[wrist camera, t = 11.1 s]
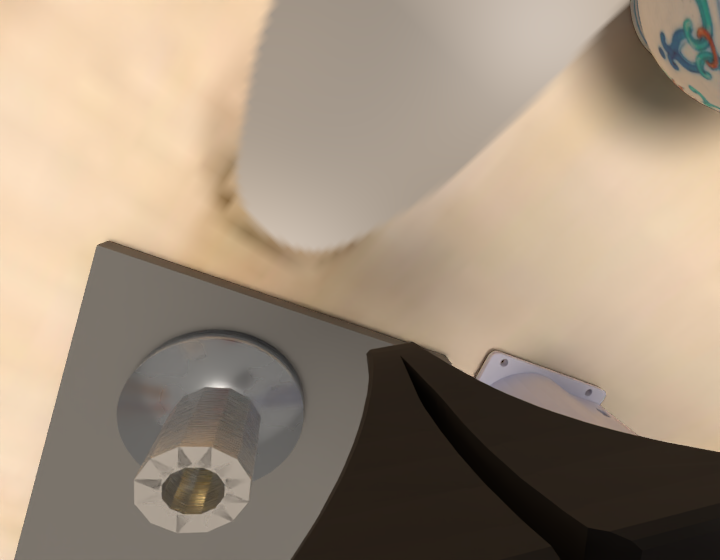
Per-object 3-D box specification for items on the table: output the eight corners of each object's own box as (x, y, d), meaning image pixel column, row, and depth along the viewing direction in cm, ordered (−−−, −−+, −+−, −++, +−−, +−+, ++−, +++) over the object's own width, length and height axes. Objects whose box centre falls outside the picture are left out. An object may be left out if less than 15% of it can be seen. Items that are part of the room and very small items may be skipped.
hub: (328, 358, 19) (333, 395, 16) (271, 485, 21) (265, 541, 18) (154, 305, 17) (121, 336, 14) (108, 453, 19) (69, 510, 16)
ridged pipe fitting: (263, 389, 18) (253, 447, 14) (257, 460, 19) (246, 531, 15) (169, 385, 17) (132, 445, 13) (168, 459, 18) (134, 534, 15)
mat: (445, 355, 22) (451, 364, 21) (298, 634, 27) (298, 651, 26) (108, 240, 17) (97, 245, 16) (9, 608, 22) (-4, 627, 21)
